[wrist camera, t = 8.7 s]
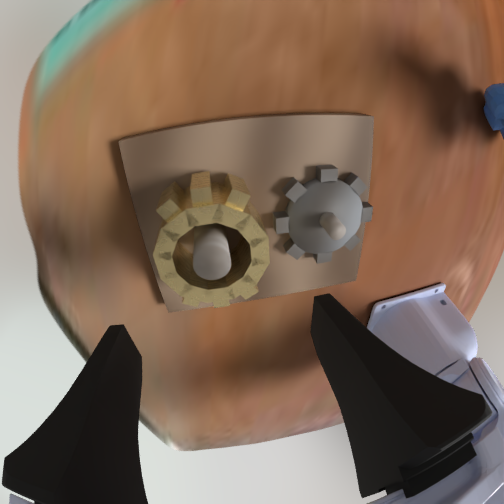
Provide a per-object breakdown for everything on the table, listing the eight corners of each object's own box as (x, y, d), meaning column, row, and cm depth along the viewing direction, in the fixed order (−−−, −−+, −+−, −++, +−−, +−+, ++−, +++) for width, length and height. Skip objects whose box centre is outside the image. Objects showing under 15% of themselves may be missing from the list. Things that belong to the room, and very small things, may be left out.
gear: (254, 163, 14) (265, 181, 12) (261, 271, 18) (271, 302, 16) (148, 180, 14) (137, 201, 11) (176, 283, 18) (174, 317, 15)
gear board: (365, 114, 14) (411, 127, 11) (350, 272, 21) (376, 312, 17) (123, 137, 13) (95, 157, 9) (169, 302, 20) (165, 351, 16)
